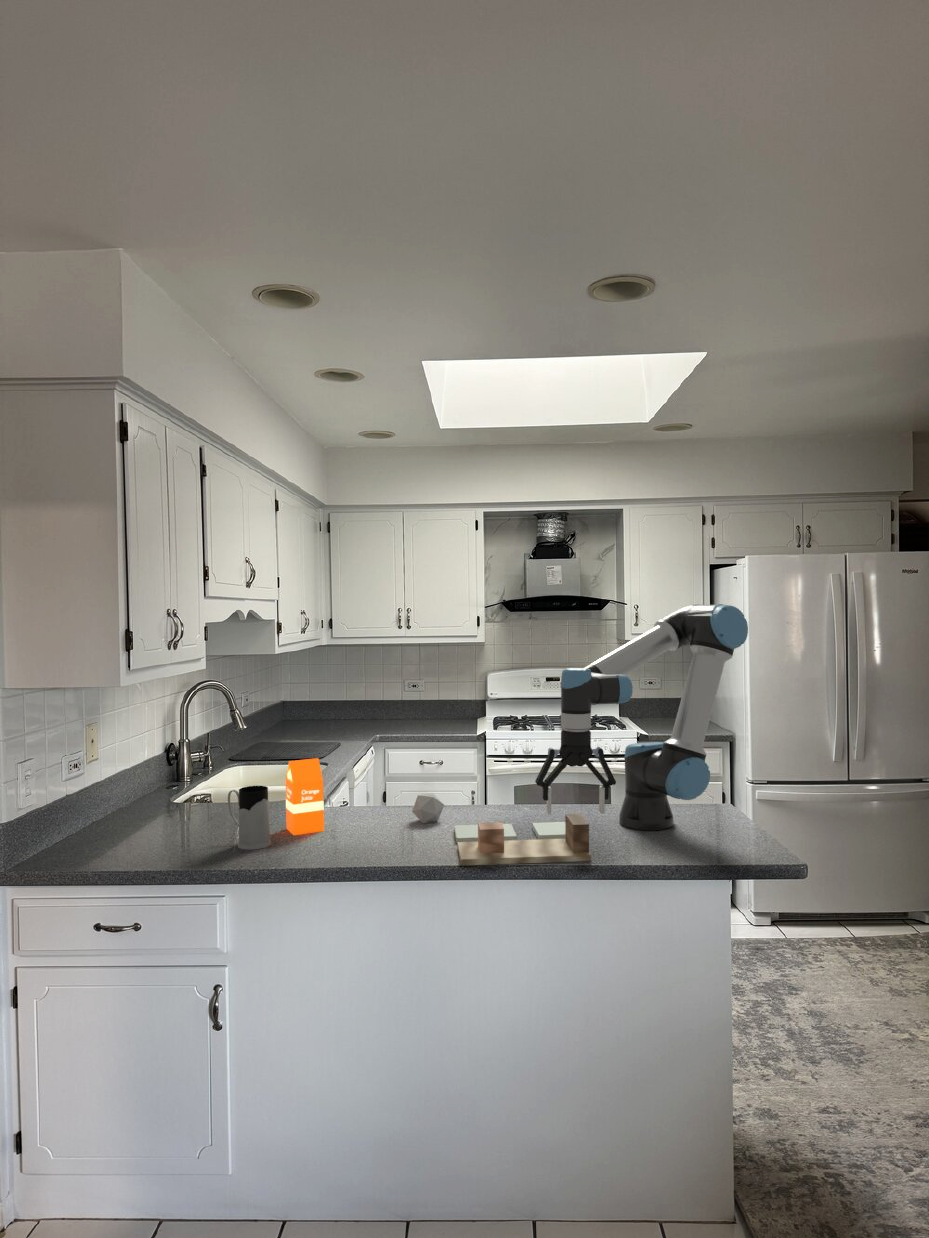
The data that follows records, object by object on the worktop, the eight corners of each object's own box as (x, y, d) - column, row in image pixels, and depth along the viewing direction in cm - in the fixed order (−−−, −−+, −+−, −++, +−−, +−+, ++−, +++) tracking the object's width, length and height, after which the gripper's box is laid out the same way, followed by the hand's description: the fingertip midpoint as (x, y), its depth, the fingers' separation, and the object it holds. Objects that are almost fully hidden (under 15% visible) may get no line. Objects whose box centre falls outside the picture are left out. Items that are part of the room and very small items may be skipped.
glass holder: (253, 851, 212) (252, 794, 212) (216, 843, 220) (215, 787, 220) (278, 842, 220) (277, 787, 219) (241, 835, 227) (240, 781, 227)
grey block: (434, 817, 245) (415, 792, 245) (453, 807, 240) (433, 782, 240) (422, 833, 238) (401, 808, 238) (441, 823, 234) (420, 797, 233)
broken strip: (567, 826, 231) (567, 821, 231) (576, 839, 219) (575, 833, 219) (454, 830, 229) (454, 825, 229) (456, 843, 217) (456, 838, 217)
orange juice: (286, 828, 233) (284, 758, 233) (316, 824, 237) (314, 755, 237) (293, 835, 226) (292, 763, 226) (324, 830, 230) (323, 760, 230)
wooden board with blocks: (579, 843, 215) (578, 811, 215) (591, 860, 201) (590, 826, 201) (457, 847, 213) (457, 815, 212) (461, 865, 199) (460, 830, 199)
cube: (501, 845, 209) (501, 822, 209) (504, 852, 203) (503, 828, 203) (478, 846, 209) (477, 822, 209) (480, 853, 203) (479, 829, 203)
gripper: (620, 726, 212) (619, 808, 212) (524, 727, 210) (524, 809, 210) (628, 731, 204) (627, 815, 204) (529, 731, 202) (528, 817, 203)
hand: (575, 812), depth 207 cm, fingers open, 13 cm apart
